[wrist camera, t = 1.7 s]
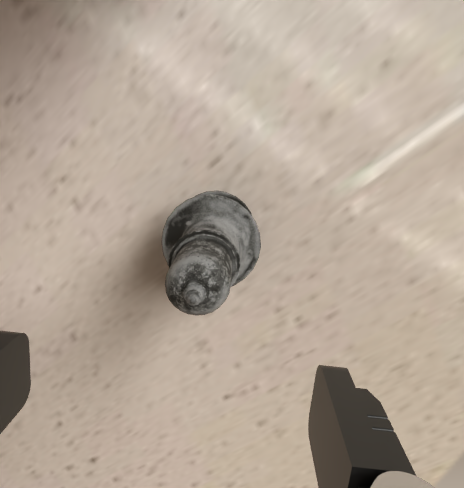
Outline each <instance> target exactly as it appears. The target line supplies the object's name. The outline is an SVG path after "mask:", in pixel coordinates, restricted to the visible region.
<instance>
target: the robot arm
mask: <svg viewBox="0 0 464 488" xmlns="http://www.w3.org/2000/svg"><path fill="white" fill-rule="evenodd" d="M30 385H31V380H30V355H29V339H28V336H27V335H26V334H25V333H17V332H7V331H0V434H1V433H2V431H3V430H4V429H5V428H6V427H7V425H8V424H9V423H10V422H11V421H12V419H13V418H14V417H15V416H16V415H17V413H18V412H19V411H20V410H21V409H22V407H23V406H24V404H25V402H26V400H27V398H28V395H29V391H30ZM387 418H388V417H387V415H386V413H385V411H384V409H383V407H382V405H381V402H380V401H378V400H377V399H376V398H375V397H374V396H373V395H372V394H371V393H370V392H369V391H368V390H367V389H360V388H355V385H354V383H353V380H352V378H351V376H350V373H349V371H348V369H347V368H342V367H332V366H323V365H319V366H318V368H317V371H316V377H315V383H314V389H313V395H312V401H311V407H310V413H309V440H310V445H311V451H312V456H313V461H314V466H315V471H316V476H317V481H318V486H319V488H435V487H433V486H432V485H431V484H429V483H428V482H426V481H425V480H423V479H421V478H419V477H417V476H416V474H415V472H414V470H413V468H412V466H411V464H410V462H409V460H408V458H407V456H406V454H405V452H404V450H403V448H402V446H401V443H400V441H399V439H398V437H397V435H396V433H395V432H394V431H393V430H394V429H393V427H392V425H391V423H390V421H389V420H388V419H387Z"/></svg>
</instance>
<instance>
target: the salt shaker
mask: <svg viewBox="0 0 464 488" xmlns="http://www.w3.org/2000/svg"><path fill="white" fill-rule="evenodd" d="M162 247H163V254H164V256H165V259H166V261H167V263H168V266H169V271H168V273H167V275H166V281H165V287H166V293H167V296H168V298H169V300H170V301H171V303H172V304H173V305H174V306H175V307H176V308H178V309H179V310H180V311H182V312H185V313H187V314H191V315H205V314H208V313H211V312H213V311H215V310H216V309H218V308H219V307H220V306H221V305H222V304H223V303H224V302H225V300H226V298H227V296H228V294H229V291H230V287H231V286H234V285H236V284H237V283H239V282H240V281H242V280H243V279H245V278H246V277H247V275H248V274H249V273H250V272H251V271H252V270H253V268H254V266H255V264H256V262H257V260H258V258H259V253H260V248H261V243H260V233H259V230H258V227H257V224H256V222H255V220H254V219H253V217H252V215H251V212H250V211H249V209H248V208H247V206H246V205H245V204H244V203H243V202H242V201H241V200H240V199H238V198H237V197H236V196H233V195H231V194H229V193H227V192H221V191H209V192H204V193H201V194H199V195H196V196H195V197H194V198H191V199H188V200H186V201H185V202H183V203H182V204H181V205H179V206H178V207H176V209H175V210H174V211H173V212H172V214H171V215H170V216H169V217H168V219H167V222H166V224H165V226H164V229H163V235H162Z"/></svg>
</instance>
